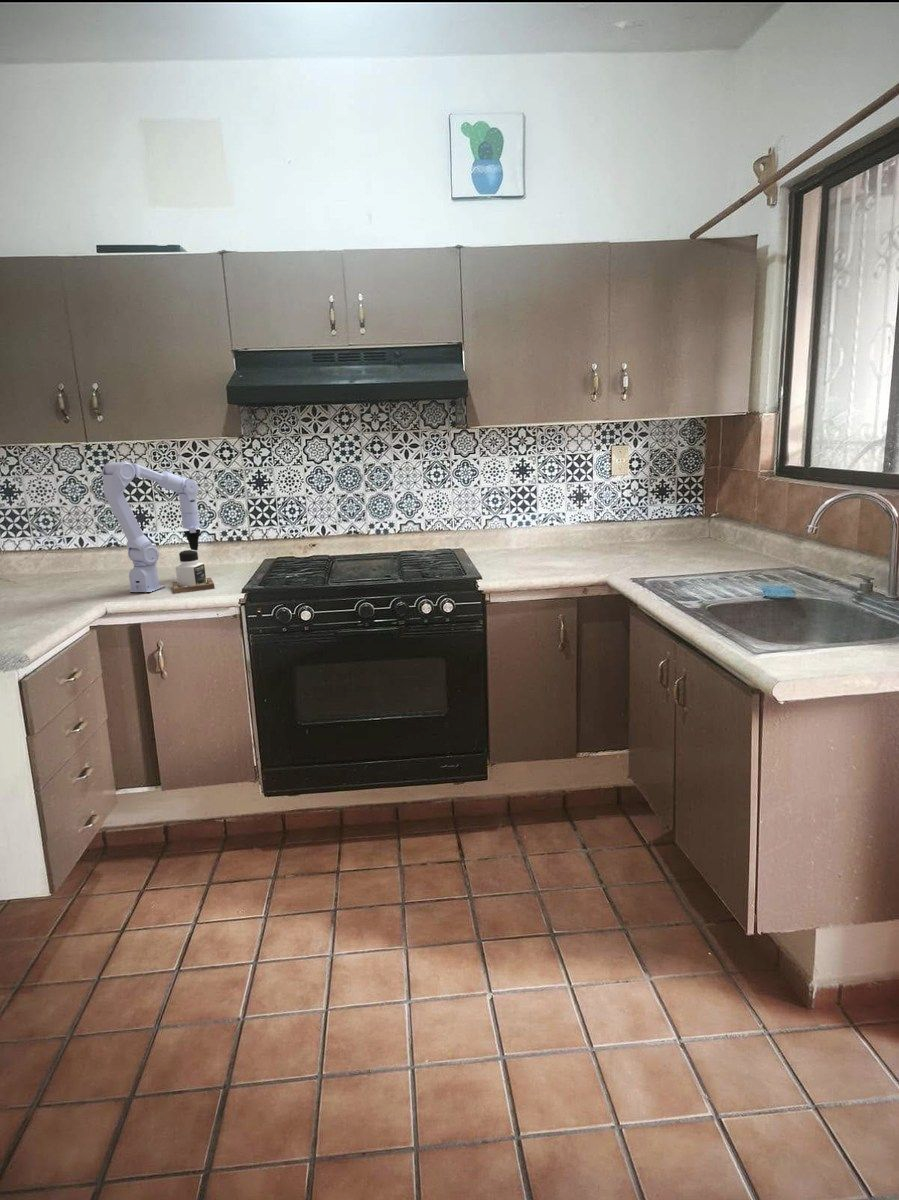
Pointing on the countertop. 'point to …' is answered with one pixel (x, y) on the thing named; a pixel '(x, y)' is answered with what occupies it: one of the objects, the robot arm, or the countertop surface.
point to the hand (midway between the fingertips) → (194, 550)
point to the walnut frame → (193, 587)
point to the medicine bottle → (190, 569)
